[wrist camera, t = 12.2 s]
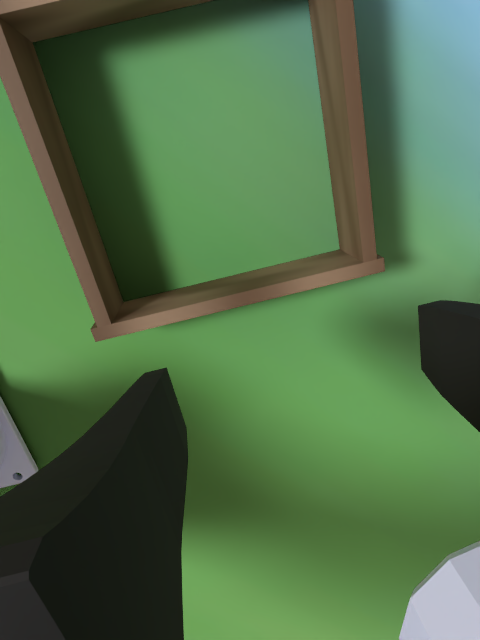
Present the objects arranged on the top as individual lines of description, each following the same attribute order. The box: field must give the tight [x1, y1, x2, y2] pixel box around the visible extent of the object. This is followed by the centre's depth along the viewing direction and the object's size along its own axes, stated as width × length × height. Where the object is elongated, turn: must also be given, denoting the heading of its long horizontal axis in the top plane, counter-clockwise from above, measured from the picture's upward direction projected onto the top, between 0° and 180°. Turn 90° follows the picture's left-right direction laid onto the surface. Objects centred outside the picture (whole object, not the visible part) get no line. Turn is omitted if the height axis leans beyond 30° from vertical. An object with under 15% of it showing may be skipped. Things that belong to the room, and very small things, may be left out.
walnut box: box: [0, 0, 385, 342], centre depth 16 cm, size 13×12×3 cm
